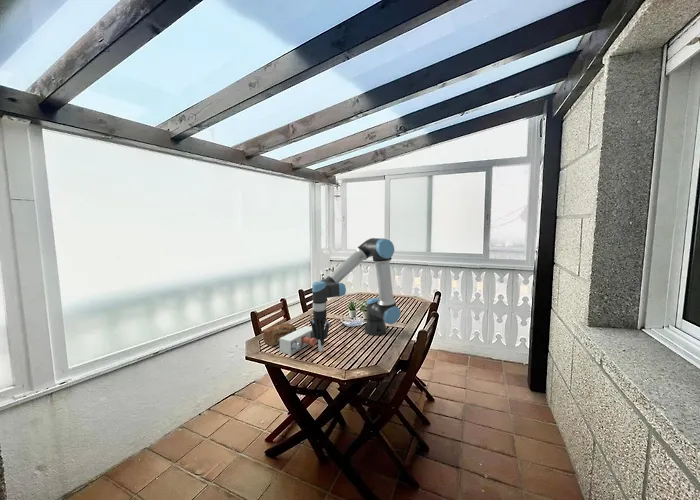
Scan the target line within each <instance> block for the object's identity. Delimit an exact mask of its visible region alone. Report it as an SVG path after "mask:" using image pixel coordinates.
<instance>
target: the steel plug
mask: <svg viewBox="0 0 700 500" xmlns="http://www.w3.org/2000/svg"><path fill="white" fill-rule="evenodd" d="M302 347H303V344H302V343H301V342H298V343H297V342H292V343H291V348H293V349H296V350H297V351H296V352H301V351H302V350H303V348H304V347H303V348H302Z"/></svg>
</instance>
